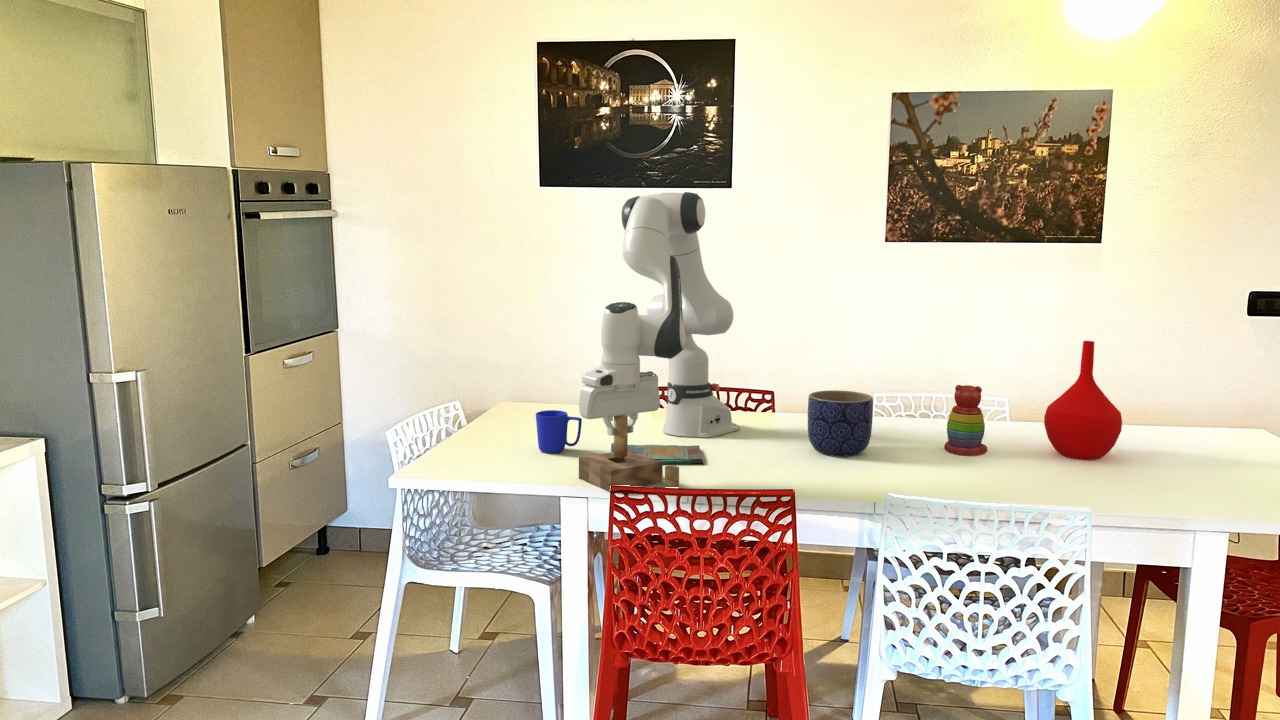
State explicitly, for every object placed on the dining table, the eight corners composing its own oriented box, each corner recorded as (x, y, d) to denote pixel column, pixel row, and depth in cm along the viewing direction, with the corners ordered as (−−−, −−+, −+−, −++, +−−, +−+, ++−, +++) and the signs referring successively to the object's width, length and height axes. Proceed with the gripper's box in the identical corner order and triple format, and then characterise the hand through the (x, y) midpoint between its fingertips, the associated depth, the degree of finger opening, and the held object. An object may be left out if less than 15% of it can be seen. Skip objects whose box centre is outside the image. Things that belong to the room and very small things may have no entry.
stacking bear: (988, 449, 258) (992, 383, 255) (984, 458, 248) (988, 389, 246) (945, 445, 262) (949, 380, 259) (940, 453, 253) (944, 386, 250)
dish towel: (610, 450, 256) (610, 441, 256) (699, 450, 257) (699, 441, 256) (609, 467, 239) (609, 457, 239) (704, 467, 240) (704, 457, 239)
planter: (882, 451, 255) (885, 395, 252) (849, 463, 243) (851, 404, 240) (828, 441, 266) (830, 387, 263) (794, 451, 254) (795, 395, 252)
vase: (1043, 460, 247) (1051, 344, 242) (1040, 444, 264) (1048, 335, 259) (1123, 467, 240) (1133, 348, 236) (1115, 450, 257) (1124, 339, 253)
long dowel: (622, 453, 227) (622, 411, 225) (630, 455, 224) (630, 413, 223) (610, 454, 225) (611, 412, 223) (618, 457, 222) (618, 414, 221)
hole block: (628, 469, 235) (628, 449, 234) (662, 483, 224) (662, 461, 223) (578, 478, 227) (578, 457, 226) (611, 492, 216) (611, 470, 215)
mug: (577, 456, 247) (577, 418, 246) (531, 453, 250) (531, 415, 248) (585, 448, 255) (585, 411, 254) (541, 446, 258) (541, 409, 256)
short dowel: (673, 486, 221) (673, 464, 220) (681, 489, 219) (682, 468, 218) (661, 488, 219) (662, 466, 219) (670, 491, 217) (670, 470, 216)
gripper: (650, 368, 230) (649, 425, 232) (575, 376, 219) (575, 436, 221) (665, 372, 225) (665, 430, 227) (590, 380, 213) (590, 441, 216)
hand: (620, 433), depth 224 cm, fingers closed on long dowel, 3 cm apart
